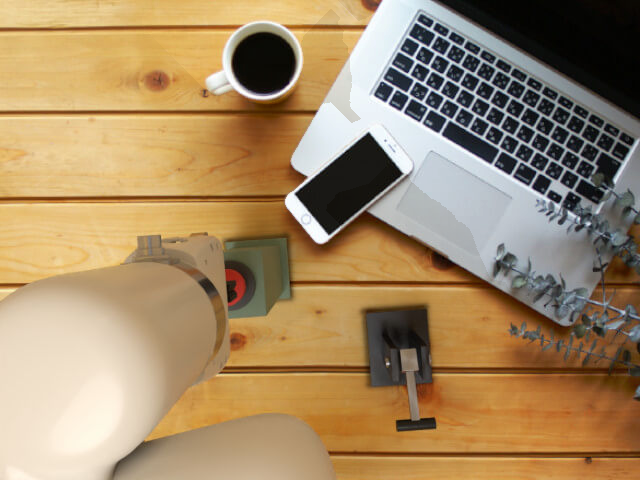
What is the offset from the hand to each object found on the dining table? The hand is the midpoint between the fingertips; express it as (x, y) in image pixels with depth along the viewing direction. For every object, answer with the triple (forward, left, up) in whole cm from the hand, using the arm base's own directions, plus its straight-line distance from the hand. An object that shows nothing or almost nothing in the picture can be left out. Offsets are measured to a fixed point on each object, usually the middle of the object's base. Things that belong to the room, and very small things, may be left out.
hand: (220, 289), depth 48 cm
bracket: (-13, -20, -30) cm, 38 cm away
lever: (-17, -20, -20) cm, 33 cm away
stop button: (0, 0, -4) cm, 4 cm away
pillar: (0, 0, -30) cm, 30 cm away
